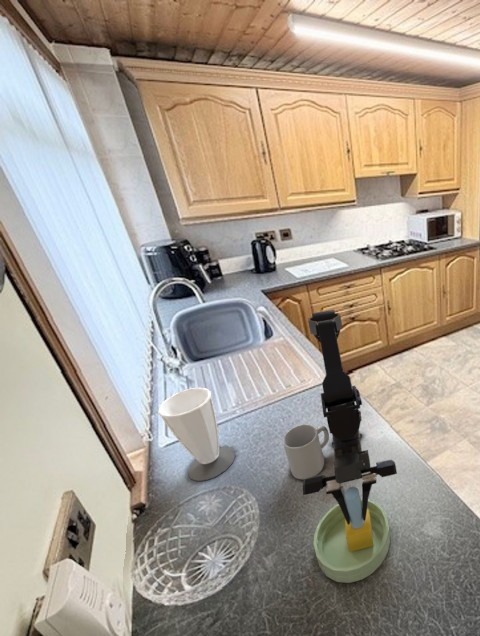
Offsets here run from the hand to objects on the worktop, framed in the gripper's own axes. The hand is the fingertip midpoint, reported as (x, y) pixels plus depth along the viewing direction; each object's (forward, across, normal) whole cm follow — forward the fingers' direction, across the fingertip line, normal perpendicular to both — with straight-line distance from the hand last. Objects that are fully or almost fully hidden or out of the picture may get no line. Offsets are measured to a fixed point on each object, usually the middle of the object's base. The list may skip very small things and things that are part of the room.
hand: (356, 522), depth 70 cm
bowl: (+5, -1, +6) cm, 8 cm away
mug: (-13, -11, +24) cm, 30 cm away
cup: (-18, -38, +30) cm, 51 cm away
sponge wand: (+4, 0, +6) cm, 7 cm away
